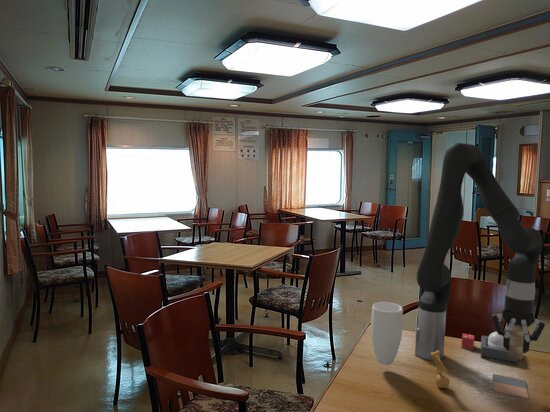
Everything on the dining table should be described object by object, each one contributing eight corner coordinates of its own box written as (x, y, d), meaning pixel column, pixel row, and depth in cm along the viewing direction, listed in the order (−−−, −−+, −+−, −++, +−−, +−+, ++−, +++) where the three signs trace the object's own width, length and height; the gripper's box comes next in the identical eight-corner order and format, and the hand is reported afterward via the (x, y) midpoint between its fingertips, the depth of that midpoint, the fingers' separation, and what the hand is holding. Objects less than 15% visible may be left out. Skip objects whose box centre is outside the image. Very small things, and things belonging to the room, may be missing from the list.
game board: (493, 390, 125) (493, 389, 125) (492, 374, 135) (492, 373, 135) (528, 398, 121) (528, 397, 121) (524, 381, 131) (524, 380, 131)
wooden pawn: (507, 357, 123) (509, 323, 122) (506, 351, 127) (508, 318, 126) (524, 360, 122) (526, 326, 120) (522, 354, 125) (525, 321, 124)
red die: (461, 347, 155) (462, 336, 154) (461, 343, 158) (462, 332, 158) (473, 349, 153) (474, 338, 152) (473, 345, 156) (474, 334, 156)
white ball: (487, 352, 148) (488, 333, 147) (487, 345, 154) (488, 327, 153) (509, 357, 144) (511, 337, 144) (508, 349, 151) (510, 330, 150)
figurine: (455, 394, 123) (458, 356, 121) (436, 395, 122) (439, 357, 121) (440, 380, 131) (443, 343, 130) (422, 381, 130) (425, 344, 129)
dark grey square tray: (480, 357, 147) (481, 346, 146) (480, 345, 157) (481, 335, 156) (516, 364, 142) (517, 353, 142) (514, 351, 152) (515, 341, 151)
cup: (364, 373, 134) (367, 308, 132) (372, 359, 144) (375, 299, 141) (397, 381, 130) (400, 315, 127) (403, 367, 139) (407, 305, 136)
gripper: (493, 294, 122) (489, 350, 124) (550, 302, 116) (545, 361, 118) (492, 288, 129) (488, 341, 131) (546, 295, 123) (541, 350, 125)
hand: (515, 350), depth 124 cm, fingers closed on wooden pawn, 4 cm apart
